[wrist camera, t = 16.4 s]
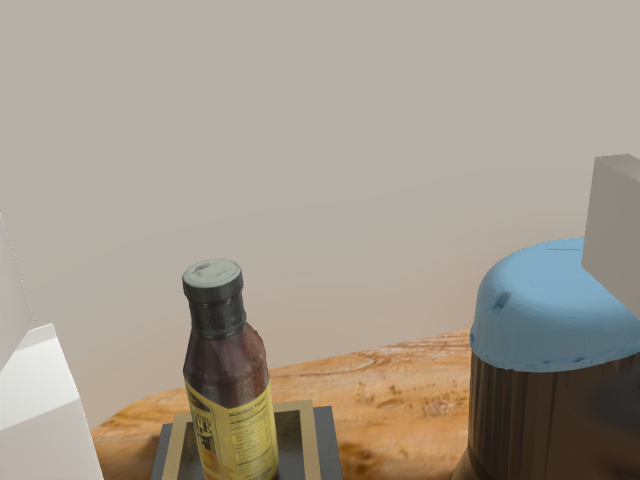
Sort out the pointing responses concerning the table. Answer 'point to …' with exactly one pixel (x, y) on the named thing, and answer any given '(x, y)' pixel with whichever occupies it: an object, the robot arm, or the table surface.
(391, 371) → the table surface
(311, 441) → the plate
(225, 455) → the sauce bottle
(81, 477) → the milk carton
